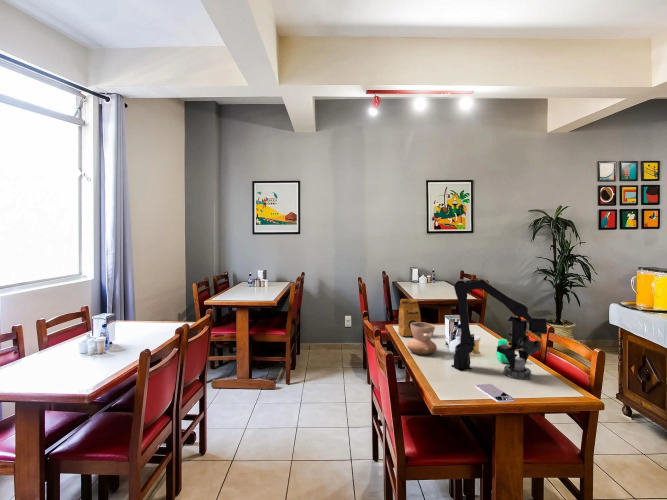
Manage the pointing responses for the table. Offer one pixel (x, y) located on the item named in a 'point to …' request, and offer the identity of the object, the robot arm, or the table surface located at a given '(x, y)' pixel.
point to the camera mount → (501, 356)
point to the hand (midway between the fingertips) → (517, 367)
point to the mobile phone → (494, 393)
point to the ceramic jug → (422, 338)
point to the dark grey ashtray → (517, 373)
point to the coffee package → (408, 315)
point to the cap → (519, 365)
